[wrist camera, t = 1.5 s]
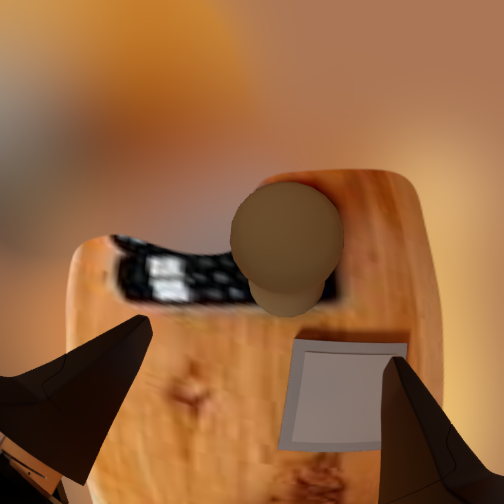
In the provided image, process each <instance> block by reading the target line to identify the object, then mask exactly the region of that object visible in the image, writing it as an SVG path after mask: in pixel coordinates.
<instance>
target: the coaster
mask: <svg viewBox="0 0 504 504" xmlns="http://www.w3.org/2000/svg"><path fill="white" fill-rule="evenodd" d="M407 344H408V343H358V342H335V341H318V340H305V339H294V341H293V349H292V357H291V365H290V373H289V380H288V387H287V394H286V400H285V407H284V413H283V419H282V425H281V431H280V437H279V443H278V450H290V451H306V452H355V451H371V450H381V397H382V375H383V371H384V369H385V367H386V365H387V364H388V362H389V360H390V358H391V357H392V356H402V357H403V358H404V359H405V360H406V354H407Z"/></svg>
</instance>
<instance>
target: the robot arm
mask: <svg viewBox="0 0 504 504" xmlns="http://www.w3.org/2000/svg"><path fill="white" fill-rule="evenodd" d="M152 336H153V331H152V327H151V324H150V320H149V318H148V317H147V316H144V315H136V316H134V317H132V318H131V319H129V320H127V321H125V322H123V323H121V324H120V325H118V326H116V327H114V328H112V329H110V330H109V331H107V332H105V333H103V334H101V335H99V336H97V337H96V338H94V339H92V340H90V341H88V342H86V343H85V344H83V345H81V346H79V347H77V348H75V349H73V350H72V351H70V352H68V353H67V354H64V355H62V356H61V357H59V358H57V359H55V360H53V361H51V362H49V363H46V364H44V365H42V366H40V367H37V368H35V369H33V370H30V371H28V372H25V373H23V374H21V375H18V376H14V377H3V376H0V504H68V503H69V502H68V499H67V496H66V493H65V490H64V487H63V484H62V481H61V478H62V476H65V477H67V478H69V479H71V480H73V481H74V482H76V483H78V484H80V485H82V486H84V484H85V483H86V480H87V478H88V476H89V473H90V471H91V469H92V467H93V464H94V462H95V460H96V458H97V455H98V453H99V451H100V448H101V446H102V444H103V442H104V440H105V438H106V436H107V434H108V431H109V429H110V427H111V425H112V423H113V421H114V419H115V417H116V415H117V413H118V411H119V409H120V407H121V405H122V403H123V401H124V399H125V397H126V395H127V393H128V391H129V389H130V387H131V385H132V383H133V381H134V379H135V377H136V375H137V373H138V371H139V369H140V367H141V364H142V362H143V359H144V357H145V354H146V352H147V349H148V346H149V344H150V341H151V339H152ZM378 504H504V476H501V475H498V474H495V473H492V472H490V471H489V470H488V469H487V468H486V467H485V466H484V465H483V464H482V463H481V461H480V460H479V459H478V457H477V456H476V455H475V454H474V453H473V451H472V450H471V449H470V448H469V446H468V445H467V444H466V443H465V441H464V440H463V439H462V437H461V436H460V435H459V433H458V432H457V430H456V429H455V427H454V426H453V424H451V422H450V420H449V419H448V417H447V416H446V414H445V413H444V411H443V410H442V409H441V407H440V406H439V404H438V403H437V402H436V400H435V399H434V397H433V396H432V395H431V393H430V392H429V391H428V389H427V388H426V386H425V385H424V384H423V382H422V381H421V380H420V378H419V377H418V376H417V374H416V373H415V372H414V370H413V369H412V368H411V366H410V365H409V364H408V363H407V361H406V360H405V359H404V358H403V357H402V356H392V357H391V358H390V360H389V362H388V364H387V365H386V367H385V369H384V371H383V375H382V397H381V469H380V487H379V499H378Z"/></svg>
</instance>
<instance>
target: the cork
mask: <svg viewBox="0 0 504 504" xmlns="http://www.w3.org/2000/svg"><path fill="white" fill-rule="evenodd" d="M230 245H231V250H232V254H233V258H234V260H235V262H236V264H237V265H238V267H239V268H240V270H241V271H242V273H243V274H244V276H245V277H246V278H247V279H249V286H250V290H251V294H252V296H253V297H254V299H255V301H256V302H257V304H258V305H259V306H260V307H262V308H263V309H264V310H265V311H267V312H268V313H271V314H274V315H276V316H279V317H293V316H297V315H300V314H303V313H305V312H306V311H308V310H309V309H311V308H312V307H314V305H315V304H316V303H317V301H318V300H319V299H320V297H321V295H322V292H323V289H324V286H325V280H326V279H327V278H328V277H329V275H330V274H331V273H332V271H333V270H334V268H335V267H336V266H337V264H338V263H339V260H340V257H341V254H342V250H343V247H344V238H343V224H342V222H341V219H340V217H339V214H338V212H337V209H336V208H335V207H334V206H333V204H332V203H331V202H330V201H329V200H328V198H327V197H326V196H325V195H323V194H322V193H320V192H318V191H317V190H315V189H314V188H312V187H310V186H307V185H303V184H300V183H297V182H278V183H274V184H270V185H266V186H264V187H262V188H260V189H258V190H257V191H255V192H253V193H252V194H250V195H249V196H248V197H247V198H246V199H245V200H244V202H243V203H242V204H241V205H240V206H239V207H238V210H237V212H236V214H235V216H234V218H233V220H232V226H231V235H230Z"/></svg>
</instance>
